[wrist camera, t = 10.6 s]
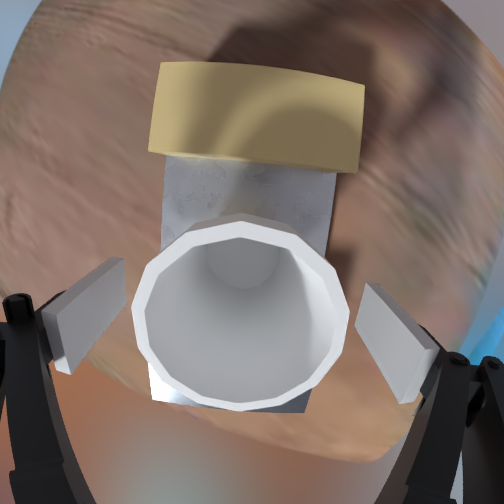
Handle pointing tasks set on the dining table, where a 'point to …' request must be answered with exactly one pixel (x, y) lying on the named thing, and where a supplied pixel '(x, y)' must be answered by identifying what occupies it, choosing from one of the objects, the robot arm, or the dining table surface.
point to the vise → (250, 202)
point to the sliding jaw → (257, 115)
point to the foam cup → (240, 313)
